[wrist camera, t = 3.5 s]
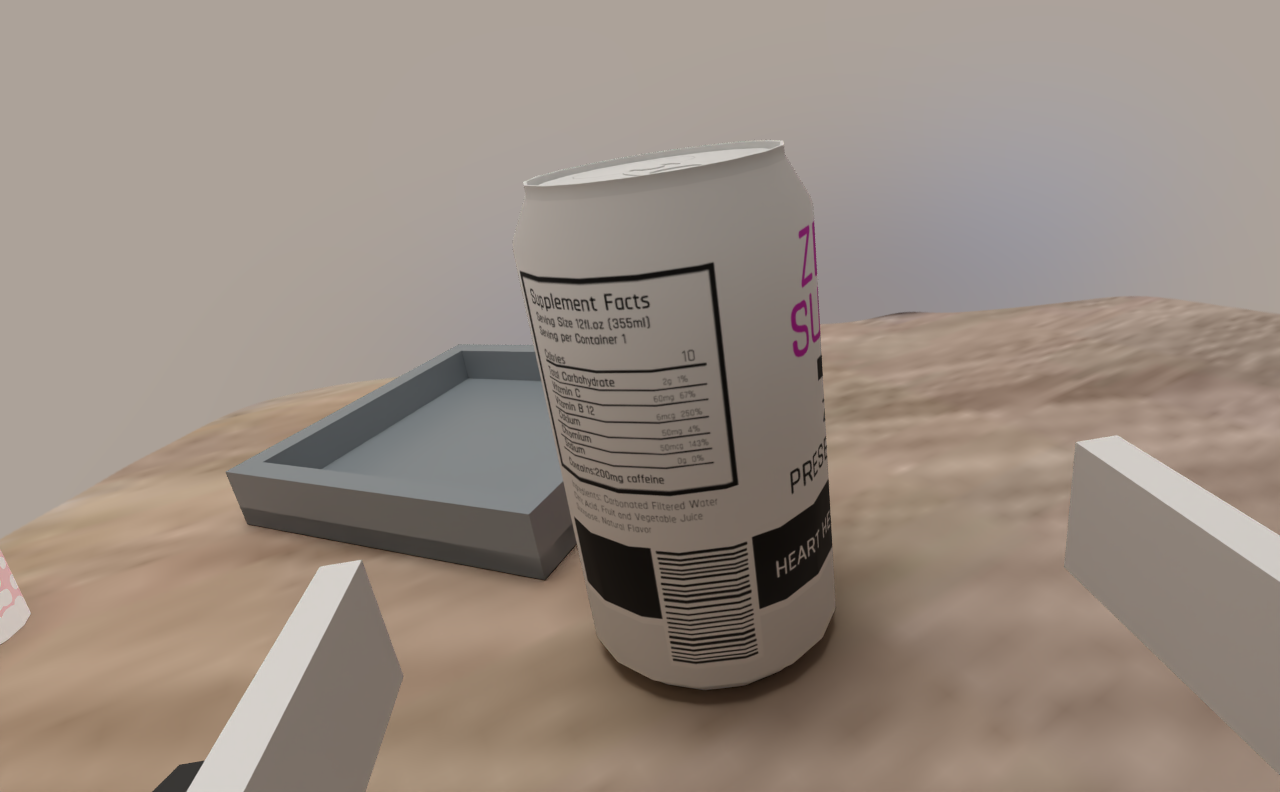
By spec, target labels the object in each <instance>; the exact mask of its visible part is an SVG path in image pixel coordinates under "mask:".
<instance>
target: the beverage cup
mask: <svg viewBox="0 0 1280 792" xmlns="http://www.w3.org/2000/svg"><path fill="white" fill-rule="evenodd" d="M30 614H31V613H30V610H29V608H28V606H27V604H26V602H25V600H24V598H23V596H22V594H21V592H20V590H19V587H18V585H17V583H16V581H15V579H14V577H13V575H12V573H11V571H10V569H9V567H8V565H7V562H6V560H5V558H4V556H3V554H2V552H1V550H0V644H2V643H3V642H5V641H6V640H8V639H9V638H10V637H11V636H12V635H14V634H15V633H16V632H17V631H18V630H19V629H20V628H21V627H23V626H24V625H25V623H26V621H27V619H28V618H29V616H30Z"/></svg>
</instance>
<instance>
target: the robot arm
mask: <svg viewBox="0 0 1280 792" xmlns="http://www.w3.org/2000/svg"><path fill="white" fill-rule="evenodd" d="M1064 567H1065V568H1066V569H1067V570H1068V571H1069V572H1070V573H1071V574H1072V575H1073V576H1074V577H1075V578H1076V579H1077V580H1078V581H1079V582H1080V583H1081V584H1082V585H1083V586H1084V587H1085V588H1086V589H1087V590H1088V591H1089V592H1091V593H1092V594H1093V595H1094V596H1095V597H1096V598H1097V599H1098V600H1099V601H1100V602H1101V603H1102V604H1103V605H1104V606H1105V607H1106V608H1107V609H1108V610H1109V611H1110V612H1111V613H1112V614H1113V615H1114V616H1115V617H1116V618H1117V619H1118V620H1120V621H1121V622H1122V623H1123V624H1124V625H1125V626H1126V627H1127V628H1128V629H1129V630H1130V631H1131V632H1132V633H1133V634H1134V635H1135V636H1136V637H1137V638H1138V639H1139V640H1140V641H1141V642H1142V643H1143V644H1144V645H1145V646H1146V647H1148V648H1149V649H1150V650H1151V651H1152V652H1153V653H1154V654H1155V655H1156V656H1157V657H1158V658H1159V659H1160V660H1161V661H1162V662H1163V663H1164V664H1165V665H1166V666H1167V667H1168V668H1169V669H1170V670H1171V671H1172V672H1173V673H1174V674H1175V675H1177V676H1178V677H1179V678H1180V679H1181V680H1182V681H1183V682H1184V683H1185V684H1186V685H1187V686H1188V687H1189V688H1190V689H1191V690H1192V691H1193V692H1194V693H1195V694H1196V695H1197V696H1198V697H1199V698H1200V699H1201V700H1202V701H1203V702H1205V703H1206V704H1207V705H1208V706H1209V707H1210V708H1211V709H1212V710H1213V711H1214V712H1215V713H1216V714H1217V715H1218V716H1219V717H1220V718H1221V719H1222V720H1223V721H1224V722H1225V723H1226V724H1227V725H1228V726H1229V727H1230V728H1231V729H1232V730H1234V731H1235V732H1236V733H1237V734H1238V735H1239V736H1240V737H1241V738H1242V739H1243V740H1244V741H1245V742H1246V743H1247V744H1248V745H1249V746H1250V747H1251V748H1252V749H1253V750H1254V751H1255V752H1256V753H1257V754H1258V755H1259V756H1260V757H1262V758H1263V759H1264V760H1265V761H1266V762H1267V763H1268V764H1269V765H1270V766H1271V767H1272V768H1273V769H1274V770H1275V771H1276V772H1277V773H1278V774H1279V775H1280V535H1278V534H1276V533H1275V532H1273V531H1271V530H1270V529H1268V528H1267V527H1265V526H1263V525H1262V524H1260V523H1259V522H1257V521H1255V520H1254V519H1252V518H1250V517H1249V516H1247V515H1246V514H1244V513H1242V512H1241V511H1239V510H1237V509H1236V508H1234V507H1233V506H1231V505H1229V504H1228V503H1226V502H1225V501H1223V500H1221V499H1220V498H1218V497H1216V496H1215V495H1213V494H1212V493H1210V492H1208V491H1207V490H1205V489H1203V488H1202V487H1200V486H1199V485H1197V484H1195V483H1194V482H1192V481H1190V480H1189V479H1187V478H1186V477H1184V476H1182V475H1181V474H1179V473H1178V472H1176V471H1174V470H1173V469H1171V468H1169V467H1168V466H1166V465H1165V464H1163V463H1161V462H1160V461H1158V460H1156V459H1155V458H1153V457H1152V456H1150V455H1148V454H1147V453H1145V452H1144V451H1142V450H1140V449H1139V448H1137V447H1135V446H1134V445H1132V444H1131V443H1129V442H1127V441H1126V440H1124V439H1122V438H1121V437H1119V436H1118V435H1116V436H1110V437H1104V438H1098V439H1092V440H1085V441H1079V442H1076V444H1075V455H1074V466H1073V477H1072V488H1071V498H1070V509H1069V520H1068V531H1067V542H1066V552H1065V563H1064ZM402 679H403V673H402V671H401V668H400V665H399V662H398V659H397V657H396V654H395V651H394V648H393V646H392V643H391V640H390V637H389V634H388V632H387V629H386V626H385V623H384V620H383V618H382V615H381V612H380V609H379V606H378V604H377V601H376V598H375V595H374V593H373V590H372V587H371V584H370V581H369V579H368V576H367V573H366V570H365V567H364V565H363V562H362V560H357V561H351V562H345V563H339V564H333V565H327V566H321V567H319V569H318V571H317V572H316V574H315V576H314V578H313V579H312V581H311V583H310V584H309V586H308V588H307V589H306V591H305V593H304V594H303V596H302V598H301V599H300V601H299V603H298V604H297V606H296V608H295V610H294V611H293V613H292V615H291V616H290V618H289V620H288V621H287V623H286V625H285V626H284V628H283V630H282V631H281V633H280V635H279V637H278V638H277V640H276V642H275V643H274V645H273V647H272V648H271V650H270V652H269V653H268V655H267V657H266V658H265V660H264V662H263V663H262V665H261V667H260V669H259V670H258V672H257V674H256V675H255V677H254V679H253V680H252V682H251V684H250V685H249V687H248V689H247V690H246V692H245V694H244V696H243V697H242V699H241V701H240V702H239V704H238V706H237V707H236V709H235V711H234V712H233V714H232V716H231V717H230V719H229V721H228V722H227V724H226V726H225V728H224V729H223V731H222V733H221V734H220V736H219V738H218V739H217V741H216V743H215V744H214V746H213V748H212V749H211V751H210V753H209V755H208V756H207V758H206V760H205V761H200V762H194V763H188V764H182V765H179V766H178V767H177V768H176V769H175V770H174V771H173V772H172V773H171V774H170V775H169V776H168V777H167V778H166V779H165V780H164V781H163V782H162V783H161V784H160V785H159V786H158V787H157V788H156V789H155V790H154V791H152V792H365V791H366V788H367V785H368V782H369V779H370V776H371V773H372V770H373V767H374V764H375V761H376V758H377V755H378V752H379V749H380V746H381V743H382V740H383V737H384V734H385V731H386V728H387V725H388V722H389V719H390V716H391V713H392V710H393V707H394V704H395V701H396V698H397V695H398V692H399V688H400V685H401V682H402Z"/></svg>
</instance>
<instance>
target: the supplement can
mask: <svg viewBox="0 0 1280 792" xmlns="http://www.w3.org/2000/svg"><path fill="white" fill-rule="evenodd" d="M523 184H524V189H525V198H524V201H523V205H522V209H521V213H520V216H519V220H518V223H517V227H516V231H515V235H514V238H513V252H514V257H515V262H516V267H517V271H518V276H519V280H520V285H521V290H522V294H523V299H524V303H525V308H526V312H527V317H528V322H529V326H530V331H531V336H532V340H533V344H534V349H535V354H536V359H537V363H538V368H539V372H540V377H541V381H542V386H543V391H544V395H545V400H546V404H547V409H548V414H549V418H550V423H551V427H552V432H553V437H554V441H555V446H556V450H557V455H558V460H559V464H560V469H561V473H562V478H563V482H564V487H565V492H566V496H567V501H568V505H569V510H570V515H571V519H572V524H573V528H574V533H575V538H576V542H577V547H578V551H579V556H580V561H581V565H582V570H583V574H584V579H585V583H586V588H587V593H588V597H589V602H590V606H591V611H592V616H593V620H594V625H595V629H596V634H597V637H598V639H599V640H600V641H601V642H602V643H603V645H604V646H605V647H606V648H607V650H608V651H609V652H610V653H611V654H612V656H613V657H614V658H615V659H616V661H617V662H619V663H621V664H623V665H625V666H627V667H628V668H630V669H632V670H634V671H636V672H638V673H640V674H642V675H644V676H646V677H648V678H650V679H652V680H655V681H661V682H663V683H665V684H669V685H675V686H681V687H688V688H694V689H700V690H710V689H719V688H727V687H736V686H745V685H747V684H750V683H752V682H755V681H757V680H760V679H762V678H764V677H767V676H769V675H772V674H774V673H776V672H779V671H781V670H782V669H783V668H785V667H787V666H789V665H791V664H793V663H794V662H795V661H796V660H798V659H799V658H800V657H801V656H802V655H803V654H805V653H806V652H807V651H808V650H809V649H810V648H811V647H813V646H814V645H815V644H816V643H817V642H818V641H819V640H821V639H822V638H823V635H824V633H825V631H826V629H827V627H828V624H829V622H830V620H831V618H832V615H833V613H834V611H835V609H836V605H835V587H834V569H833V551H832V534H831V516H830V498H829V480H828V462H827V444H826V426H825V408H824V390H823V373H822V355H821V337H820V319H819V303H818V302H819V301H818V283H817V265H816V248H815V229H814V212H813V203H812V199H811V196H810V195H809V193H808V191H807V190H806V188H805V186H804V185H803V183H802V182H801V180H800V178H799V177H798V175H797V173H796V172H795V170H794V168H793V167H792V165H791V164H790V162H789V160H788V159H787V157H786V155H785V154H784V142H783V141H776V140H761V141H742V142H731V143H722V144H713V145H704V146H697V147H689V148H682V149H674V150H667V151H660V152H654V153H648V154H641V155H635V156H629V157H624V158H618V159H613V160H608V161H602V162H596V163H592V164H587V165H582V166H577V167H573V168H568V169H563V170H559V171H556V172H552V173H548V174H544V175H541V176H537V177H534V178H532V179H529V180H527V181H524V182H523Z"/></svg>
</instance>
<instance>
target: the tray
mask: <svg viewBox="0 0 1280 792" xmlns="http://www.w3.org/2000/svg"><path fill="white" fill-rule="evenodd" d="M226 474H227V477H228V479H229V482H230V484H231V486H232V489H233V491H234V493H235V496H236V498H237V501H238V503H239V505H240V508H241V510H242V512H243V515H244V517H245V519H246V522H247V524H251V525H256V526H261V527H266V528H272V529H277V530H282V531H288V532H293V533H298V534H304V535H309V536H314V537H320V538H325V539H330V540H336V541H341V542H346V543H352V544H357V545H362V546H368V547H373V548H378V549H384V550H389V551H394V552H399V553H405V554H410V555H415V556H421V557H426V558H431V559H437V560H442V561H447V562H453V563H458V564H463V565H469V566H474V567H479V568H485V569H490V570H495V571H501V572H506V573H511V574H516V575H522V576H527V577H532V578H538V579H543V580H545V579H546V578H547V577H548V576H549V575H550V573H551V572H552V571H553V570H554V569H555V568H556V567H557V565H558V564H559V563H560V562H561V561H562V560H563V559H564V557H565V556H566V555H567V554H568V553H569V552H570V550H571V549H572V548H573V547H574V546H575V545H576V544H577V542H576V538H575V533H574V528H573V524H572V519H571V515H570V510H569V505H568V501H567V496H566V492H565V487H564V482H563V478H562V473H561V469H560V464H559V460H558V455H557V450H556V446H555V441H554V437H553V432H552V427H551V423H550V418H549V414H548V409H547V404H546V400H545V395H544V391H543V386H542V381H541V377H540V372H539V368H538V363H537V359H536V354H535V349H534V345H462V344H460V345H457V346H455V347H453V348H451V349H450V350H448V351H446V352H444V353H442V354H440V355H439V356H437V357H435V358H433V359H431V360H429V361H428V362H426V363H424V364H422V365H420V366H418V367H417V368H415V369H413V370H411V371H409V372H408V373H406V374H404V375H402V376H400V377H398V378H396V379H395V380H393V381H391V382H389V383H387V384H385V385H384V386H382V387H380V388H378V389H376V390H374V391H373V392H371V393H369V394H367V395H365V396H363V397H362V398H360V399H358V400H356V401H354V402H352V403H351V404H349V405H347V406H345V407H343V408H341V409H340V410H338V411H336V412H334V413H332V414H330V415H329V416H327V417H325V418H323V419H321V420H319V421H318V422H316V423H314V424H312V425H310V426H308V427H307V428H305V429H303V430H301V431H299V432H297V433H296V434H294V435H292V436H290V437H288V438H286V439H285V440H283V441H281V442H279V443H277V444H275V445H274V446H272V447H270V448H268V449H266V450H265V451H263V452H261V453H259V454H257V455H255V456H254V457H252V458H250V459H248V460H246V461H244V462H243V463H241V464H239V465H237V466H235V467H233V468H232V469H230V470H228V471H226Z"/></svg>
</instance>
